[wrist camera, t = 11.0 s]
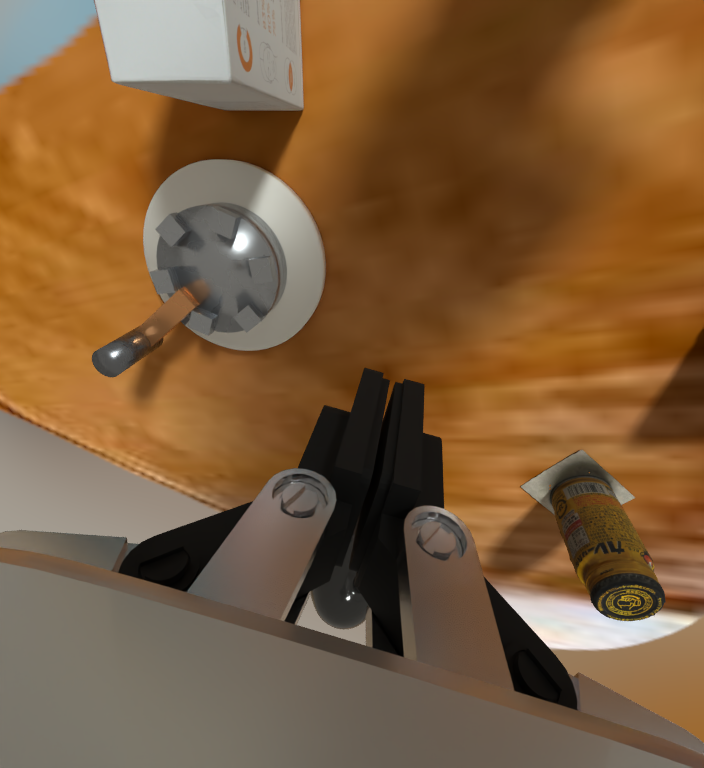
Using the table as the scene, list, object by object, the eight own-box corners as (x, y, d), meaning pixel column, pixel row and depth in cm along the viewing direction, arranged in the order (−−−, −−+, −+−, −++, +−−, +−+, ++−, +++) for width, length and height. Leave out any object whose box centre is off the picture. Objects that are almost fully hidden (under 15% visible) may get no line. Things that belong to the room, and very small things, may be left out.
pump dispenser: (425, 490, 45) (426, 624, 32) (374, 538, 50) (356, 671, 37) (349, 444, 44) (317, 564, 31) (304, 498, 49) (260, 622, 36)
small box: (207, -33, 27) (50, -175, 16) (299, -37, 26) (205, -191, 15) (224, 113, 31) (108, 84, 19) (305, 113, 30) (233, 83, 19)
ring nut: (228, 173, 31) (173, 176, 24) (310, 279, 34) (282, 307, 27) (114, 293, 38) (46, 322, 31) (191, 373, 41) (145, 415, 34)
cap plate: (140, 149, 33) (127, 148, 32) (332, 171, 31) (328, 171, 30) (165, 331, 41) (156, 337, 39) (320, 355, 39) (316, 362, 38)
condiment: (571, 528, 45) (616, 639, 34) (520, 485, 43) (550, 587, 33) (634, 495, 42) (704, 606, 31) (581, 447, 40) (636, 547, 29)
